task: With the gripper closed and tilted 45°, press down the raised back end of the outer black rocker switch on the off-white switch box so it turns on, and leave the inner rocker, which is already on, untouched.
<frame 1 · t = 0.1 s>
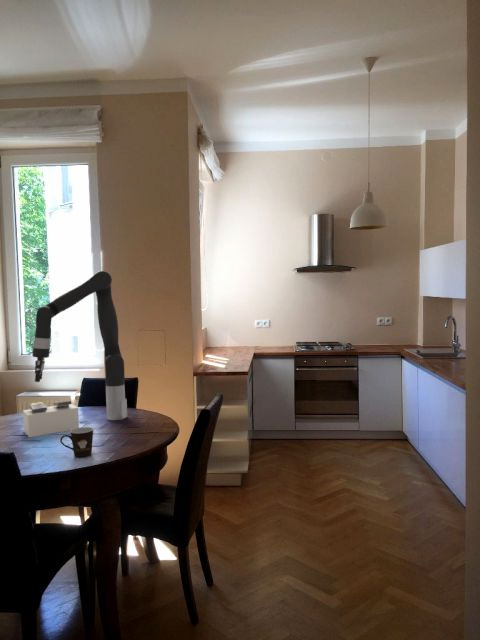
hand: (38, 380, 229), 22 cm above the table, tool pointing down, fingers open, 8 cm apart
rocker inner: (62, 403, 225), point 12 cm above the table, hinge at 9.0°
coffee mug: (79, 455, 186), on the table
rocker outer: (38, 406, 219), point 12 cm above the table, hinge at -9.0°
switch box: (51, 429, 223), on the table
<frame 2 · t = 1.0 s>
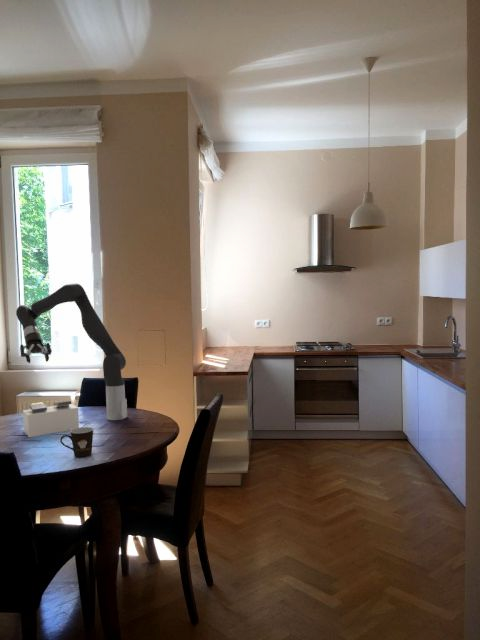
hand: (38, 361, 235), 31 cm above the table, tool tilted 45°, fingers open, 8 cm apart
nothing on the table moved.
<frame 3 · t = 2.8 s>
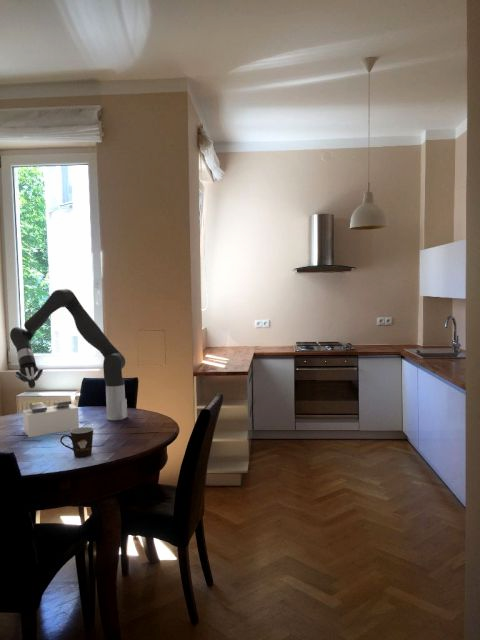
hand: (32, 387, 228), 19 cm above the table, tool tilted 45°, fingers closed
nothing on the table moved.
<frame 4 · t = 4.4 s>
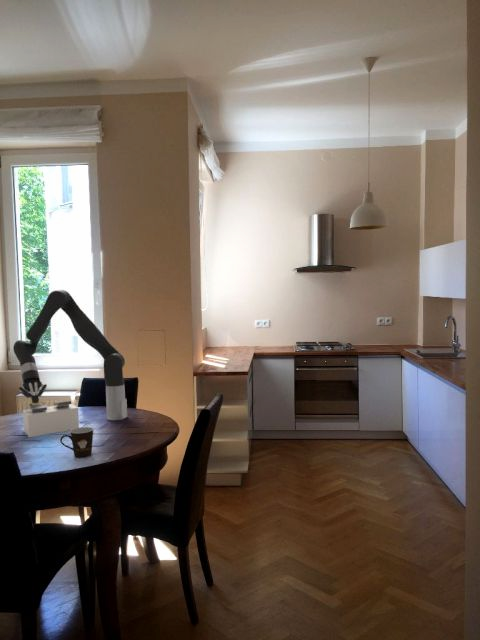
hand: (36, 403, 222), 13 cm above the table, tool tilted 45°, fingers closed
rocker outer: (38, 406, 219), point 12 cm above the table, hinge at -7.6°, touching gripper
everything else where it was.
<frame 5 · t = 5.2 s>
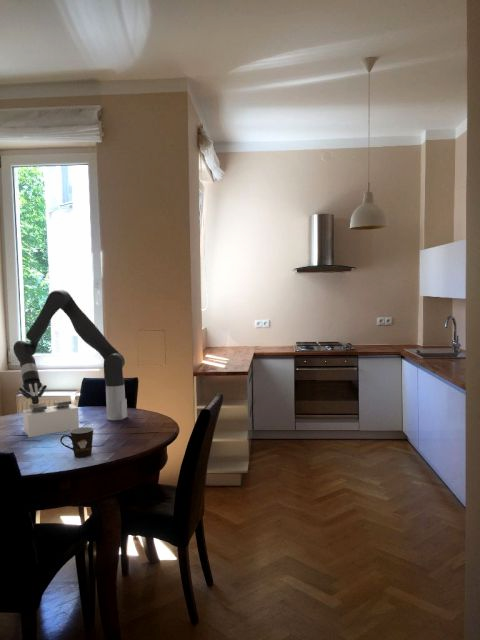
hand: (36, 404, 222), 12 cm above the table, tool tilted 45°, fingers closed
rocker outer: (38, 406, 219), point 12 cm above the table, hinge at 0.2°
everything else where it was.
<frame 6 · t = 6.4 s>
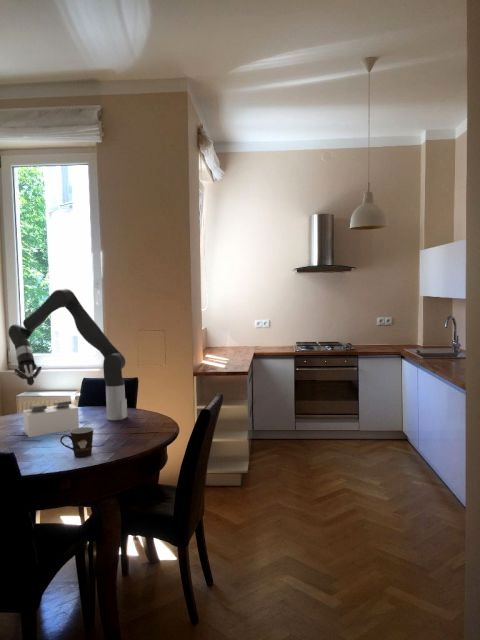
hand: (31, 384, 229), 21 cm above the table, tool tilted 45°, fingers closed
rocker outer: (38, 406, 219), point 12 cm above the table, hinge at 3.7°
everything else where it was.
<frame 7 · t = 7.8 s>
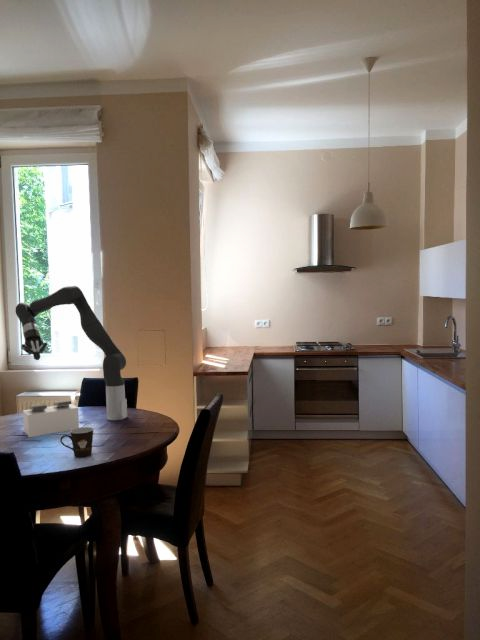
hand: (37, 359, 237), 32 cm above the table, tool tilted 45°, fingers closed
rocker outer: (38, 406, 219), point 12 cm above the table, hinge at 4.9°
everything else where it was.
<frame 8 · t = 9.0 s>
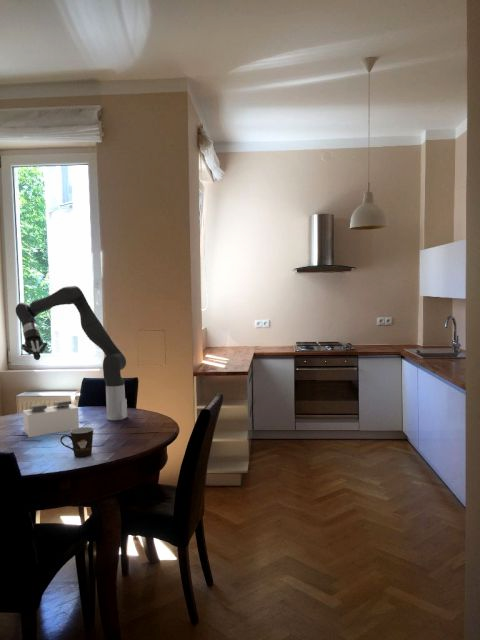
hand: (37, 358, 237), 32 cm above the table, tool tilted 45°, fingers closed
nothing on the table moved.
at the end: rocker outer at +5° (first picture: -9°); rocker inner at +9° (first picture: +9°) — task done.
